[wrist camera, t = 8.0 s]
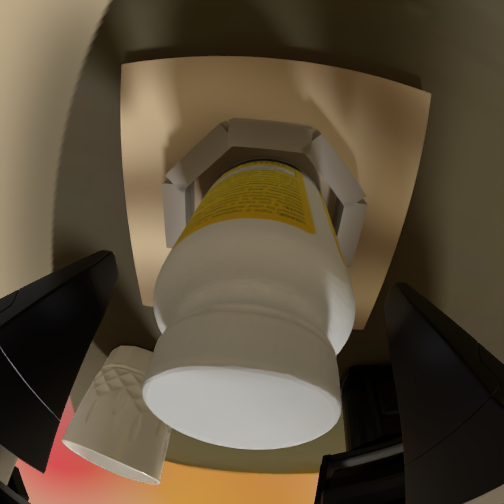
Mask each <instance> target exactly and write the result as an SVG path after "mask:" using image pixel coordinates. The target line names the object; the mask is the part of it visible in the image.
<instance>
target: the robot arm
mask: <svg viewBox="0 0 504 504" xmlns="http://www.w3.org/2000/svg"><path fill="white" fill-rule="evenodd" d="M118 275H119V273H118V268H117V263H116V258H115V254H114V253H113V252H112V251H107V250H101V251H99V252H97V253H94V254H92V255H90V256H88V257H85V258H83V259H81V260H79V261H76V262H74V263H72V264H70V265H68V266H66V267H64V268H61V269H59V270H57V271H55V272H53V273H51V274H49V275H47V276H45V277H43V278H41V279H39V280H37V281H34V282H32V283H30V284H28V285H26V286H24V287H23V288H21V289H19V290H17V291H15V292H13V293H11V294H9V295H7V296H5V297H3V298H1V299H0V504H31V503H29V502H28V500H29V497H28V494H27V492H26V489H25V486H24V484H23V481H22V478H21V475H20V472H19V469H18V468H17V467H16V466H15V464H16V461H17V459H18V458H19V459H21V460H22V461H24V462H25V463H27V464H29V465H30V466H32V467H33V468H35V469H36V470H38V471H40V472H42V473H44V472H45V470H46V466H47V462H48V459H49V455H50V452H51V448H52V445H53V442H54V438H55V435H56V432H57V429H58V426H59V423H60V421H59V420H61V417H62V413H63V411H64V408H65V405H66V403H67V400H68V397H69V395H70V392H71V389H72V387H73V384H74V382H75V379H76V377H77V374H78V372H79V370H80V367H81V365H82V362H83V360H84V358H85V355H86V353H87V351H88V349H89V346H90V344H91V342H92V340H93V338H94V335H95V333H96V331H97V329H98V327H99V325H100V323H101V321H102V318H103V316H104V314H105V311H106V309H107V306H108V303H109V301H110V298H111V295H112V293H113V290H114V288H115V285H116V283H117V280H118ZM384 314H385V322H386V330H387V340H388V348H389V354H390V359H391V364H392V366H386V367H352V368H350V369H349V370H348V372H347V374H346V375H345V377H344V379H343V381H342V383H341V384H340V393H341V402H342V409H341V410H343V419H344V430H345V442H346V452H343V453H339V454H334V455H330V454H329V455H324V456H323V459H322V464H321V466H320V473H319V479H318V485H317V491H316V497H315V502H314V504H504V364H503V363H502V362H500V361H499V360H498V359H497V358H496V357H494V356H493V355H492V354H491V353H490V352H489V351H488V350H486V349H485V348H484V347H483V346H482V345H481V344H480V343H478V342H477V341H476V340H475V339H474V338H473V337H472V336H470V335H469V334H468V333H467V332H466V331H465V330H463V329H462V328H461V327H460V326H459V325H458V324H456V323H455V322H454V321H453V320H452V319H450V318H449V317H448V316H447V315H446V314H444V313H443V312H442V311H441V310H439V309H438V308H437V307H436V306H434V305H433V304H432V303H431V302H429V301H428V300H427V299H426V298H424V297H423V296H422V295H421V294H419V293H418V292H417V291H415V290H414V289H413V288H412V287H410V286H409V285H408V284H406V283H404V282H394V283H393V284H392V286H391V288H390V290H389V293H388V295H387V297H386V300H385V303H384Z"/></svg>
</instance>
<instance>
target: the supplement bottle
mask: <svg viewBox="0 0 504 504" xmlns="http://www.w3.org/2000/svg"><path fill="white" fill-rule="evenodd" d="M153 306H154V313H155V317H156V321H157V324H158V327H159V329H160V331H161V333H162V335H161V336H160V337H159V339H158V341H157V343H156V345H155V348H154V352H153V356H152V358H151V361H150V364H149V366H148V369H147V372H146V374H145V377H144V380H143V384H142V395H143V399H144V401H145V403H146V405H147V406H148V408H149V409H150V410H151V411H152V412H153V414H155V415H156V416H157V417H158V418H159V419H160V420H162V421H163V422H164V423H166V424H167V425H169V426H170V427H172V428H174V429H176V430H177V431H179V432H181V433H183V434H186V435H188V436H190V437H193V438H196V439H199V440H201V441H204V442H208V443H212V444H216V445H220V446H226V447H232V448H239V449H253V450H260V449H276V448H285V447H290V446H295V445H299V444H302V443H305V442H308V441H311V440H313V439H316V438H318V437H320V436H322V435H323V434H325V433H326V432H328V431H329V430H330V429H331V428H332V427H333V426H334V425H335V424H336V423H337V421H338V419H339V417H340V414H341V409H342V402H341V393H340V383H339V372H338V365H337V361H336V355H337V354H338V353H339V352H340V351H341V349H342V348H343V346H344V345H345V343H346V342H347V340H348V338H349V336H350V333H351V331H352V328H353V324H354V319H355V297H354V292H353V287H352V283H351V279H350V276H349V273H348V270H347V267H346V264H345V260H344V257H343V255H342V252H341V248H340V245H339V242H338V239H337V236H336V233H335V230H334V228H333V225H332V222H331V219H330V216H329V213H328V210H327V208H326V205H325V202H324V200H323V197H322V195H321V193H320V191H319V189H318V187H317V185H316V184H315V182H314V181H313V180H312V178H311V177H310V176H309V175H308V174H307V173H306V172H305V171H303V170H302V169H301V168H299V167H297V166H296V165H294V164H292V163H290V162H288V161H285V160H282V159H278V158H273V157H257V158H251V159H247V160H244V161H241V162H239V163H237V164H235V165H233V166H231V167H230V168H228V169H227V170H226V171H225V172H223V173H222V174H221V175H220V176H219V177H218V179H217V180H216V181H215V182H214V184H213V185H212V187H211V188H210V189H209V191H208V192H207V194H206V195H205V197H204V198H203V200H202V201H201V203H200V204H199V206H198V207H197V209H196V211H195V212H194V214H193V215H192V217H191V219H190V220H189V222H188V224H187V225H186V227H185V228H184V230H183V232H182V233H181V235H180V237H179V238H178V240H177V241H176V243H175V245H174V246H173V248H172V250H171V251H170V253H169V255H168V256H167V258H166V260H165V262H164V264H163V266H162V268H161V270H160V272H159V275H158V277H157V280H156V283H155V287H154V295H153Z"/></svg>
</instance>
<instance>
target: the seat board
mask: <svg viewBox="0 0 504 504" xmlns="http://www.w3.org/2000/svg"><path fill="white" fill-rule="evenodd" d="M430 100H431V94H430V93H428V92H425V91H422V90H419V89H416V88H414V87H411V86H408V85H404V84H401V83H398V82H395V81H391V80H388V79H385V78H381V77H377V76H373V75H370V74H366V73H361V72H357V71H353V70H348V69H343V68H338V67H333V66H328V65H322V64H316V63H309V62H302V61H294V60H285V59H275V58H262V57H243V56H199V57H180V58H167V59H157V60H148V61H141V62H134V63H127V64H122V67H121V146H122V163H123V176H124V188H125V198H126V207H127V215H128V223H129V230H130V237H131V244H132V250H133V256H134V262H135V267H136V273H137V278H138V283H139V288H140V293H141V298H142V302H143V305H146V306H152V307H154V306H153V295H154V287H155V283H156V280H157V277H158V275H159V272H160V270H161V268H162V266H163V264H164V262H165V260H166V258H167V256H168V255H169V253H170V251H171V250H172V248H173V246H174V245H175V243H176V241H177V240H178V238H179V237H180V235H181V233H182V232H183V230H184V228H185V227H186V225H187V224H188V222H189V220H190V219H191V217H192V215H193V214H194V212H195V211H196V209H197V207H198V206H199V204H200V203H201V201H202V200H203V198H204V197H205V195H206V194H207V192H208V191H209V189H210V188H211V187H212V185H213V184H214V182H215V181H216V180H217V179H218V177H219V176H220V175H221V174H222V173H223V172H225V171H226V170H227V169H228V168H230V167H231V166H233V165H235V164H237V163H239V162H241V161H244V160H247V159H251V158H257V157H273V158H278V159H282V160H285V161H288V162H290V163H292V164H294V165H296V166H297V167H299V168H301V169H302V170H303V171H305V172H306V173H307V174H308V175H309V176H310V177H311V178H312V180H313V181H314V182H315V184H316V185H317V187H318V189H319V191H320V193H321V195H322V197H323V200H324V202H325V205H326V208H327V210H328V213H329V216H330V219H331V222H332V225H333V228H334V230H335V233H336V236H337V239H338V242H339V245H340V248H341V252H342V255H343V257H344V260H345V264H346V267H347V270H348V273H349V276H350V279H351V283H352V287H353V292H354V297H355V319H354V324H353V328H352V329H360V330H363V329H364V327H365V325H366V322H367V320H368V318H369V316H370V313H371V311H372V309H373V306H374V304H375V302H376V299H377V297H378V294H379V292H380V289H381V287H382V284H383V282H384V279H385V276H386V274H387V271H388V268H389V266H390V263H391V260H392V257H393V254H394V251H395V249H396V246H397V243H398V240H399V236H400V233H401V230H402V227H403V224H404V220H405V217H406V214H407V210H408V207H409V203H410V199H411V196H412V192H413V188H414V184H415V180H416V176H417V172H418V167H419V163H420V158H421V154H422V149H423V144H424V138H425V133H426V127H427V121H428V114H429V107H430Z"/></svg>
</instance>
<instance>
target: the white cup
mask: <svg viewBox="0 0 504 504" xmlns="http://www.w3.org/2000/svg"><path fill="white" fill-rule="evenodd" d="M152 356H153V352H151V351H148V350H145V349H143V348H140V347H137V346H122V345H121V346H119V347H117V348H115V349H113V350H112V351H111V353H110V355H109V356H108V358H107V360H106V362H105V363H104V365H103V367H102V370H101V371H100V372H99V373H98V374H97V376H96V377H95V378H94V380H93V382H92V384H91V386H90V388H89V389H88V390H87V392H86V394H85V395H84V397H83V399H82V401H81V403H80V405H79V407H78V409H77V410H76V412H75V414H74V416H73V418H72V420H71V422H70V424H69V426H68V428H67V430H66V432H65V434H64V436H63V438H62V442H63V443H64V444H65V445H66V446H67V447H68V448H69V449H71V450H72V451H73V452H75V453H76V454H78V455H79V456H81V457H83V458H84V459H86V460H88V461H90V462H92V463H94V464H95V465H98V466H99V467H102V468H104V469H106V470H108V471H110V472H113V473H115V474H118V475H120V476H123V477H126V478H129V479H132V480H135V481H139V482H143V483H148V484H156V485H157V484H160V481H161V476H162V471H163V466H164V461H165V456H166V451H167V447H168V442H169V438H170V433H171V427H170V426H169V425H167V424H166V423H164V422H163V421H162V420H160V419H159V418H158V417H157V416H156V415H155V414H153V412H152V411H151V410H150V409H149V408H148V406H147V405H146V403H145V401H144V399H143V395H142V384H143V380H144V377H145V374H146V372H147V369H148V366H149V364H150V361H151V358H152Z"/></svg>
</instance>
